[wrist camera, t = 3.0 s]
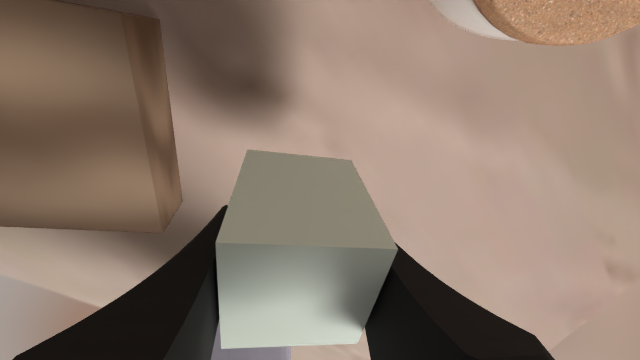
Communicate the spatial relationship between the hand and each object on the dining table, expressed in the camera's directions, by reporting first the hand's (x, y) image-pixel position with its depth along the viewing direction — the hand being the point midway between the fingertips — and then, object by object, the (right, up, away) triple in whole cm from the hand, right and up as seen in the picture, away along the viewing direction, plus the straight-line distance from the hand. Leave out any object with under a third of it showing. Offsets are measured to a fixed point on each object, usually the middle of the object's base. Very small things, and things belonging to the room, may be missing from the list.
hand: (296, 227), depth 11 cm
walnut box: (-15, +6, +4) cm, 16 cm away
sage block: (0, +1, +2) cm, 2 cm away
